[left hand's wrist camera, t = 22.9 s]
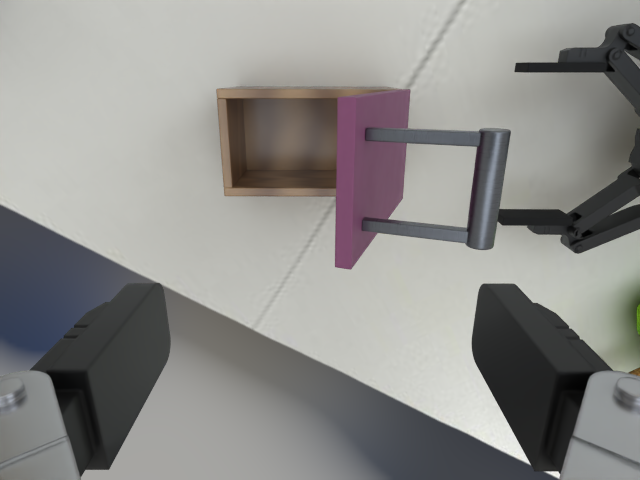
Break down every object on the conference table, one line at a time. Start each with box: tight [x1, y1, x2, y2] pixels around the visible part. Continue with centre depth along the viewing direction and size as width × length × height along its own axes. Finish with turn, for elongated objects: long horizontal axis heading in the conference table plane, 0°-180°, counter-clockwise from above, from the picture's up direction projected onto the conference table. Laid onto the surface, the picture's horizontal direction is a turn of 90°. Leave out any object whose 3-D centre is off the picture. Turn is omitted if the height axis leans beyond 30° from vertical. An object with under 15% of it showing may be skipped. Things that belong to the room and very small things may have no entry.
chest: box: [217, 87, 399, 196], centre depth 43 cm, size 16×9×9 cm, turn 90°
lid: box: [335, 89, 511, 269], centre depth 30 cm, size 17×9×8 cm
